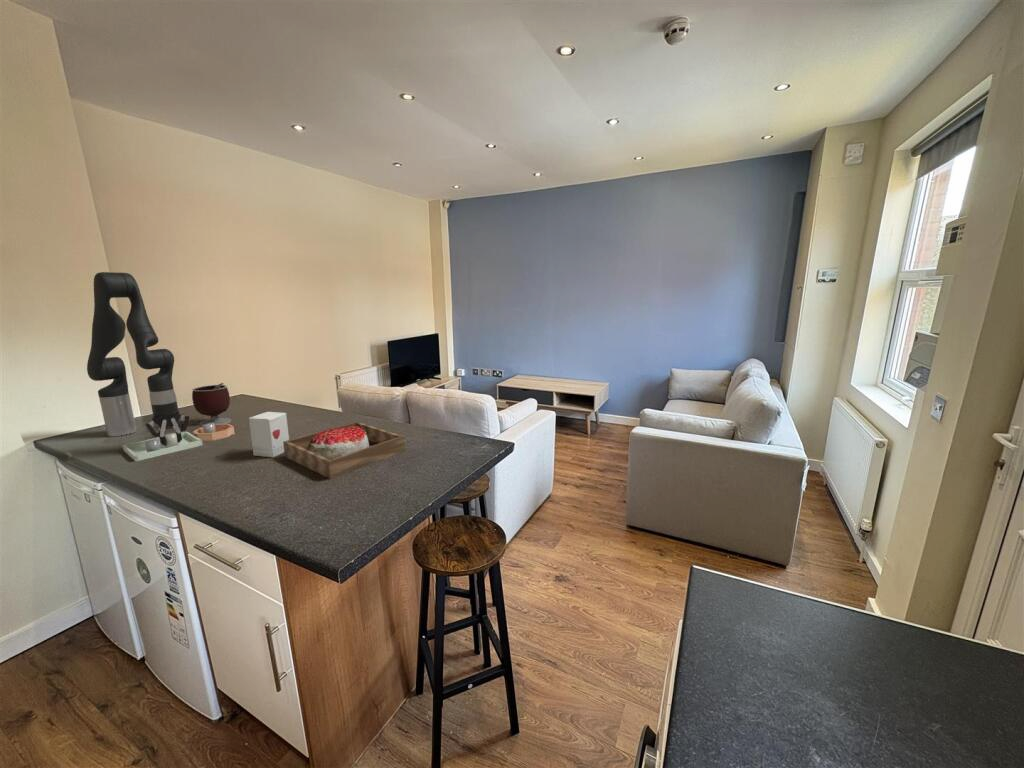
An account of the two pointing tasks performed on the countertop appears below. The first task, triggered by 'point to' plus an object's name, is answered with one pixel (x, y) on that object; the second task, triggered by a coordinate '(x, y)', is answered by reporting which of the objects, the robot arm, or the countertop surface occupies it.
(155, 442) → the grey rounded knob
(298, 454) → the wooden tray
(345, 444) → the cake
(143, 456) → the tray
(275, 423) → the supplement box
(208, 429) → the pebble
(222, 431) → the bowl
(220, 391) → the mate gourd
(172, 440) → the pebble
